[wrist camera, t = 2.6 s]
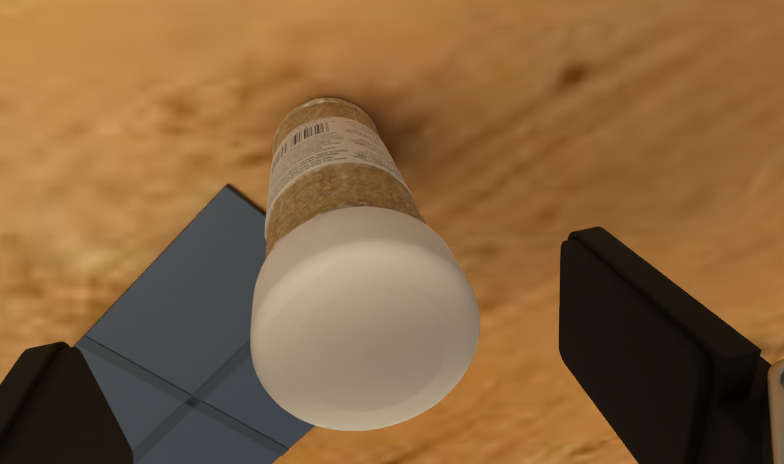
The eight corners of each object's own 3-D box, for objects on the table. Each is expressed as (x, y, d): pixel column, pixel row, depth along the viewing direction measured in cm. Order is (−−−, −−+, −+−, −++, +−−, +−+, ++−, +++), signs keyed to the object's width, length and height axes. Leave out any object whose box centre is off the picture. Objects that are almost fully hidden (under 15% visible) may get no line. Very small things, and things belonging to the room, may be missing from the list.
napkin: (226, 183, 22) (226, 186, 21) (416, 332, 27) (417, 336, 26) (-39, 464, 26) (-43, 470, 25) (170, 548, 31) (169, 554, 30)
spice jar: (299, 214, 23) (307, 470, 11) (252, 117, 21) (199, 307, 9) (396, 175, 23) (509, 390, 11) (359, 75, 21) (450, 207, 9)
